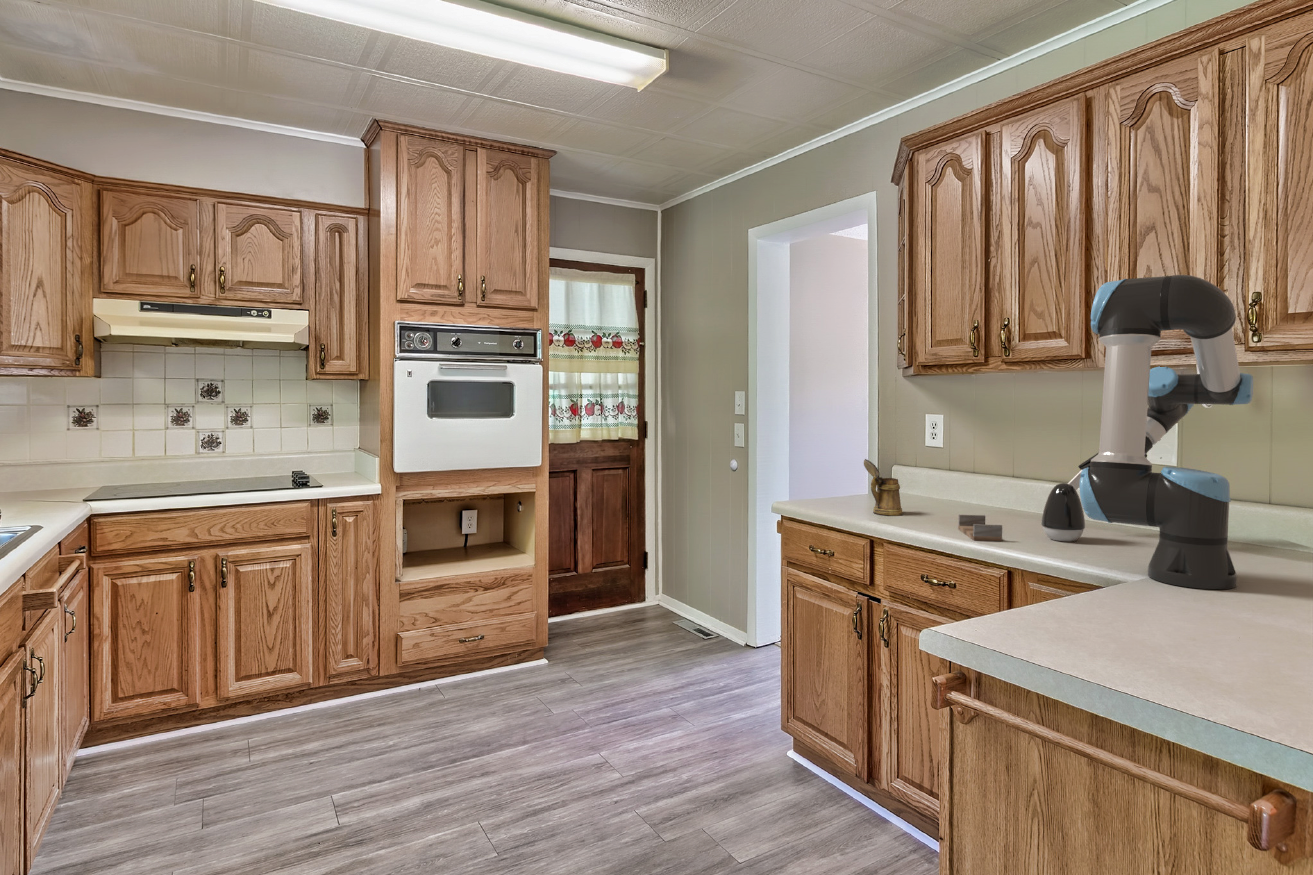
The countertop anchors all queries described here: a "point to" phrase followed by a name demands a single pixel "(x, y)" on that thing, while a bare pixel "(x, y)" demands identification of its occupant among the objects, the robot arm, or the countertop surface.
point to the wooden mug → (884, 492)
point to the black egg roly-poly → (1063, 514)
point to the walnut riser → (979, 528)
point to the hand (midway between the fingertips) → (1083, 493)
